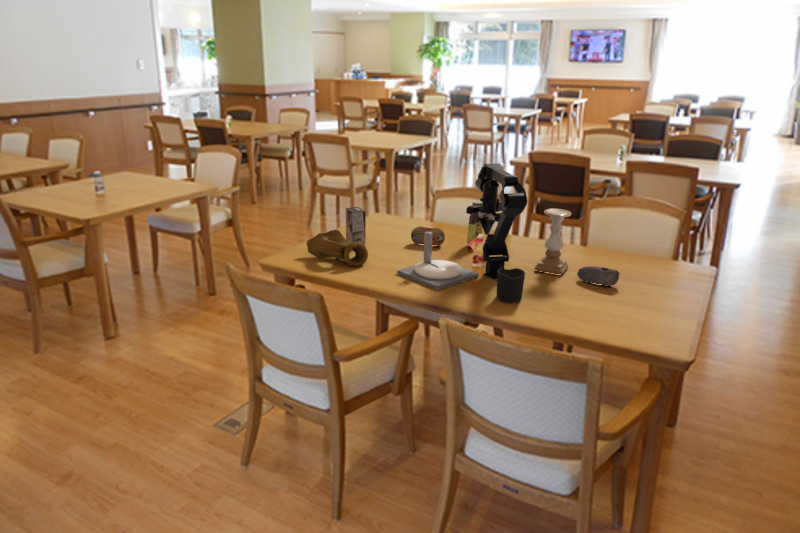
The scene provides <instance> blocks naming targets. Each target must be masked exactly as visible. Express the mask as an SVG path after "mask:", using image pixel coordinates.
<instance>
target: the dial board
mask: <svg viewBox="0 0 800 533" xmlns="http://www.w3.org/2000/svg"><path fill="white" fill-rule="evenodd" d="M434 260H441V258H435V259H434ZM415 265H416V264H414V265H410V266H407V267H403V268H400V269H397V270H396V272H397V275H399V274H400V275H399V276H402V277H404V278H406V279H409V280H411V279H412V281H414V282H416V281H417V283H419V284H421V285H424V286H426V287H429V288H431V289H434V290H436V291H440V289H441V290H444V289H446V287H447V288H449V286H450V287H452V285H453V286H455V285H454V284H456V285H458V284H457V283H459V284H461V283H460V282H462V283H464V282H463V281H465V282H467V281H466V280H468V281H470V280H469V279H471V280H473V279H472V278H474V279H476V278H475V277H477V278H479V272H476V271H474V270H471V269H468V268H465V267H462V266H461V268H462V273H461V275H460V276H458V277H456V278H452V279H443V280H439V279H429V278H425V277H422V276H419V275H417V274H416V273H415ZM443 288H444V289H443Z"/></svg>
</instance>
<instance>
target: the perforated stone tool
mask: <svg viewBox="0 0 800 533" xmlns="http://www.w3.org/2000/svg"><path fill="white" fill-rule="evenodd" d="M576 275H577V277H578V278H579V279H580V280H581V281H582V280H584V281H587V282H586V283H589V282H592V283H596V284H602V285H607V286H611V285H614V284H615V285H616V284H617V283H618V282H619V278H620V272H619V270H618V269H617V270H616V269H613V268H608V267H603V266H584V267H581V268H579V269H578V271H577V273H576ZM584 281H583V282H584ZM615 285H614V286H615ZM611 287H612V286H611Z"/></svg>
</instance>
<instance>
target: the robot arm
mask: <svg viewBox="0 0 800 533" xmlns="http://www.w3.org/2000/svg"><path fill="white" fill-rule="evenodd" d="M503 168H504V167H503V165H502V164H500V163H483V166H481V169H480V170H479V172H478V174H477V179H476V181H475V182H474V185H475V187H476V189H477V190H479V191H480V192H481V193H482V195H481V196H482V197H480V198H479V202H481V203H482V206H479V205H473V204H471V205H468V206H467V207H466V211H465V213H466V214H468V215H472V214H473V213H474V212H476V213H478V217H477V218H478V219H479V221H480V223H481V225H482V231H483V232H484V234H485V235H486V239H484V243H483V246H482V255H483V256H482V257H483V262H485V272H484V273H483V274H482V275H483V276H485V275H486V276H485V277H488V278H491V279H494V280H497V270H498V269H500V268H503V269H505V266H506V262H507V263H509V261H510V255H509V250H508V245H507V243H506V242H507V241H506V240H507V238H508V235H509V232H510V230H511V228H512V226H513V224H514V221H515V219H516V217H517V216H519V215H520V214H522V213H523V212H524V210H525V209H526V207H527V205H528V197H527V193H526V192H527V191H526V189H525V187H523V185H522V184H521V183H520V182H519V178H518V176H517V175H515V174H512V173H509V172H508V171H506V170H504V169H503ZM500 185H501V187H502V188H501V189H500V190H501V191H500V192H499V187H500ZM507 187H509V188H510V187H511V188H514V190H515V191H516V192H514V193H509V192H508V193H505V188H507ZM498 193H499V198H498ZM495 222H497V225H496V227H495V229H494V232H493V233H490V232H491V231H492V228H493V226H494V224H495Z"/></svg>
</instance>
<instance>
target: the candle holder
mask: <svg viewBox="0 0 800 533" xmlns="http://www.w3.org/2000/svg"><path fill="white" fill-rule="evenodd" d="M543 212H544V213H543V214H544V215H547V216H548V217H549V218H550V219H551V224H550V225H549V227H548V229H550V230H549V231H550V234H549V236H548V237H547V238H546V240H545V242H544V247H545V248H546V250H545V253H544V254H545V256H543V257H542V258H541V259H540V260H539V261H538V263H536V265H535V267H534V271H535V270H537V271H542V272H549V273H554V274H561V275H562V274H563V273H564V272H565V270H566V269H567V268H568V269H569V264H568V263H567V260H565V259H562V258H561V257H562V256H561V255H562V252H561V251H562V250H563V249H564V247H565V246H564V245H565V244H564V241H563V239H562V237H561V231H562V230H563V229H564V227H563V226H562V222H563V221H564V219H565V218H568V217H571V216H572V212H571V211H570V210H568V209H563V208H547V209H545V210H544V211H543ZM568 269H567V270H568ZM565 273H566V272H565ZM565 273H564V274H565ZM564 274H563V275H564ZM563 275H562V276H563Z"/></svg>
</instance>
